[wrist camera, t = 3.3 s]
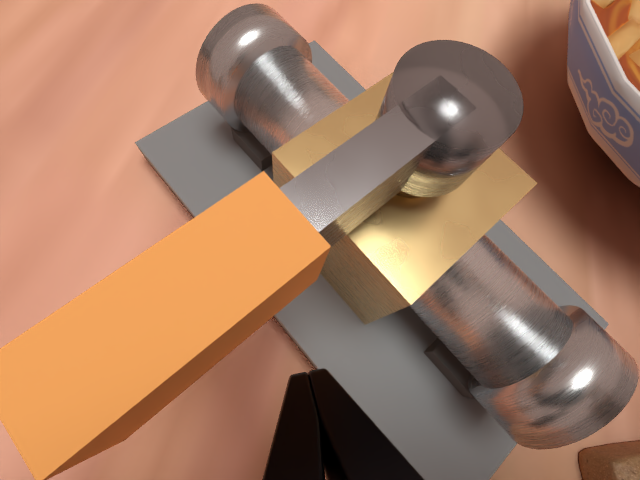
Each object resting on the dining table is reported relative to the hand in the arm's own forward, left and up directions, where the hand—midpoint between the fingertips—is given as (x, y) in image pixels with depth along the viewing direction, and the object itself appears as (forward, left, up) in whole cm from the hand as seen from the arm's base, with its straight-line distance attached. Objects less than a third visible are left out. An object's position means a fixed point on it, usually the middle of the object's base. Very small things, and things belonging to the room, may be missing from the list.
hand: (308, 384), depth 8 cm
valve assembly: (+1, -7, -9) cm, 11 cm away
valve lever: (+2, -3, 0) cm, 4 cm away
